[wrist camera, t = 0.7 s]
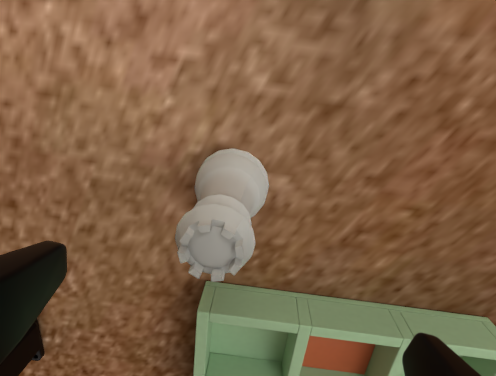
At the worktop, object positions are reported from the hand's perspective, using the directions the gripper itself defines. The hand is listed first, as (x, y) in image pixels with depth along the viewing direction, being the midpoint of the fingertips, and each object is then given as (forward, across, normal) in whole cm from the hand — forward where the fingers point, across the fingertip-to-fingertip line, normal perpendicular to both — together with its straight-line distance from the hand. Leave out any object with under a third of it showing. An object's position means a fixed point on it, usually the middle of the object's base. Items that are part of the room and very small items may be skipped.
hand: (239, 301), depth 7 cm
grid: (+11, -9, +15) cm, 21 cm away
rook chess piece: (+12, +1, +2) cm, 12 cm away
